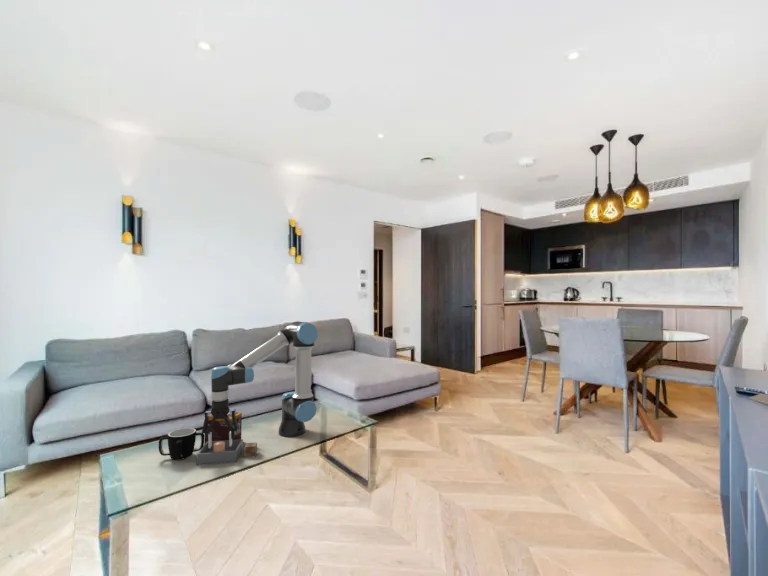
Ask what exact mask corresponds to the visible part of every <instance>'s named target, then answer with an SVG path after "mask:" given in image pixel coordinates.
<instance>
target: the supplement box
mask: <svg viewBox="0 0 768 576" xmlns="http://www.w3.org/2000/svg"><path fill="white" fill-rule="evenodd" d="M227 415H228V417H229V420H230V421H231V423H232V425H233V427H234V424H233V420H232V415H231V414H230V412H229V413H228V414H227ZM235 415H236V419H237V423H238V430H237V431H234V438H233V439H232V440H240V439H242V426H243V424H242V423H243V422H242V420H243V418H242V415H243V412H235ZM212 419H213V416H212V414H210V416H209V419H208V423H207V428H206V430H208V428H209V425H210V423H211V421H212ZM211 432H212V441H225V440H229V433H230V429H229V427H228V425H227V424H226V422H225V420H224V419H216V420H215V422H214V424H213V426H212V428H211V430H210V433H211ZM206 442H208V441H206V434H205V433H204V445H205V443H206ZM204 445H203V446H204Z"/></svg>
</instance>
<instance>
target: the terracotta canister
mask: <svg viewBox="0 0 768 576" xmlns="http://www.w3.org/2000/svg"><path fill="white" fill-rule="evenodd" d="M214 452H225V442H223V441H220V442H216V443H214V446H213V453H214Z"/></svg>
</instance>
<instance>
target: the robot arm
mask: <svg viewBox="0 0 768 576" xmlns="http://www.w3.org/2000/svg"><path fill="white" fill-rule="evenodd" d="M318 336H319V331H318V328H317V327H316V325H314V324H313V323H311V322H307V321H293V322H291V323H290V324H288V325H286V326H285V327H283V328H282V329H280V330H279V331H278V332H277V334H276V335H275V336H273V337H272V338H270V339H268V340H267V341H265V343H263V344H262V345H260V346H258V347H257V348H255V349H254V350H252V351H251V352H250V353H248V354H247V355H245V356H244V357H241V359H239V360H237V361H236V362H234V363H230V364H228V365H227V366H224V365H223V366H216V367H213V368H212V369H211V376H210V379H211V381H210V383H211V410H209V411H208V410H206V411H205V412H204V415H203V416H204V421H203V426H202V429H201V433H203V434H204V435H205V434H206V441H208V448H211V446H212V432H211V433H210V430H211V428H212V426H213V424H214V422H215V420H216V419H224V420H225V422H226V424H227V425H228V427H229V429H230V433H229V447H230V446H232V439H233V438H234V431H237V430H238V423H237V419H236V415H235V412H236V411H237V410H236V408H234V409H230V406H229V404H230V403H229V394H230V393H229V386H233V385H234V386H236V385H241V384H242V385H243V384H249V383H252V382H253V381H254V379H255V372H254V368H255V367H256V366H258V364H260V363H262V362H263V361H264V360H266V359H268V358H269V357H270V356H272V355H273V354H274V353H276V352H278V351H279V350H280V349H281V348H284V346H289V345H291V344H292V347H293V348H294V349H295V364H294V365H295V373H294V375H295V377H294V391H288V392H285V393H283V394H282V397H281V420H280V424H279V426H278V427H279V428H278V435H279V436H281V437H287V438H289V437H297V436H301V435H303V434H305V433H306V425H305V423H307V422H310V421H311V420H312V419H313V418H314V416H316V413H317V405H316V403H315V402H314V394H313V393H312V392H311V391H312V389H311V388H312V386H311V385H312V349H314V347H315V342H316V341H317V339H318ZM229 412H230V414H231V415H232V420H233V424H234V427H233V425H232V423H231V421H230V420H229V417H228V415H227V414H228V413H229ZM211 414H212V416H213V419H212V421H211V423H210V425H209V428H208V430H206V428H207V423H208V419H209V416H210V415H211Z"/></svg>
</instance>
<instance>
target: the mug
mask: <svg viewBox="0 0 768 576" xmlns="http://www.w3.org/2000/svg"><path fill="white" fill-rule="evenodd" d="M197 436H200V445H199V447H196V446H195V445H196V440H197ZM164 440H167V447H168V451H166V452H165V451H164V450H163V441H164ZM204 444H205V433H202V432H197V429H196V428H193V427H183V428H178V429H174V430H172V431H170V432H168V433H167V436H162V437H160V438H159V440H158V452H159V454H160V456H164V457H165V456H170V459H171V460H174V461H180V460H181V461H182V460H186V459H188V458H190V457H191V456H192V455H193V453H194V452H199V451H200V450H201V449H202V447H203V446H204Z"/></svg>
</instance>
